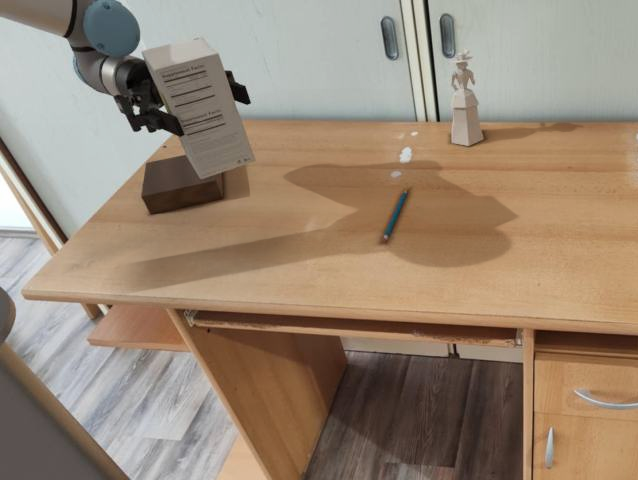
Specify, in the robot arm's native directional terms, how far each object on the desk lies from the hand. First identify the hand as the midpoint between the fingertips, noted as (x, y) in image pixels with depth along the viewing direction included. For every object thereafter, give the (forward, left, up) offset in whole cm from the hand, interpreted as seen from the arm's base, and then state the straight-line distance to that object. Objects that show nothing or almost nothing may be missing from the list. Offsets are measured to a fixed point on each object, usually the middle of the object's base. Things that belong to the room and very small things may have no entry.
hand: (213, 110), depth 87 cm
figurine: (+45, +22, -24) cm, 56 cm away
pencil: (+24, -1, -24) cm, 34 cm away
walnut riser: (-14, +26, -24) cm, 38 cm away
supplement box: (-2, +3, -9) cm, 10 cm away
